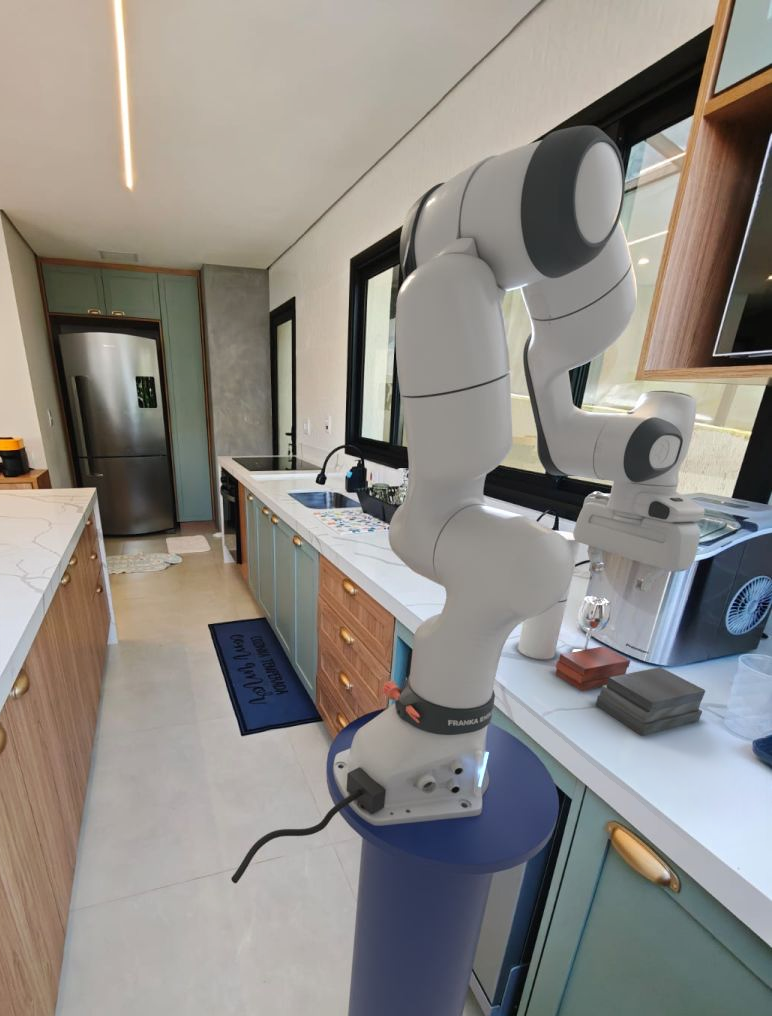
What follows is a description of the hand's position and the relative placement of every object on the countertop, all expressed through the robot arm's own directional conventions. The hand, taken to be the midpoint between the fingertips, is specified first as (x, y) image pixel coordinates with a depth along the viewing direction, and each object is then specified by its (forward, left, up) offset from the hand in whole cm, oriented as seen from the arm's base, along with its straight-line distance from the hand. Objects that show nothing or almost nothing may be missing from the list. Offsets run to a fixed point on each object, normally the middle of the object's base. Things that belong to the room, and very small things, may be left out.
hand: (617, 580), depth 87 cm
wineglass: (+8, +9, -21) cm, 24 cm away
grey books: (+1, -11, -20) cm, 23 cm away
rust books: (+1, +1, -20) cm, 20 cm away
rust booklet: (+1, +1, -17) cm, 17 cm away
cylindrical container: (-1, +13, -21) cm, 24 cm away
